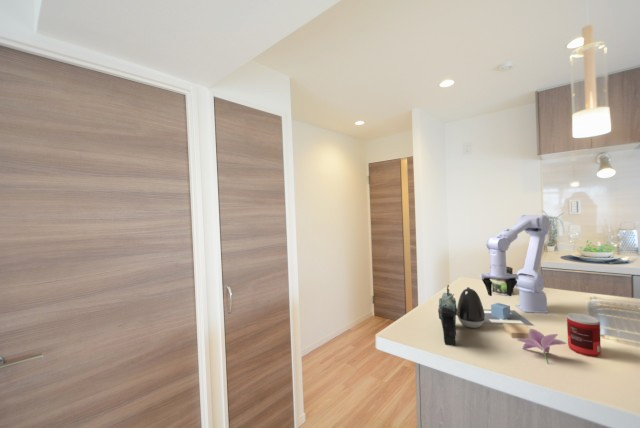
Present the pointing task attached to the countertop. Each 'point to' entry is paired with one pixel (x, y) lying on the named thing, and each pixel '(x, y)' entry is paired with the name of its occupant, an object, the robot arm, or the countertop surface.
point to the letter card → (514, 319)
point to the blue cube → (500, 311)
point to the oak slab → (517, 330)
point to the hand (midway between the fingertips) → (499, 295)
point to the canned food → (583, 334)
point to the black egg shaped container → (470, 309)
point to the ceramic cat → (448, 317)
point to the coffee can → (501, 284)
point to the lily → (540, 341)
